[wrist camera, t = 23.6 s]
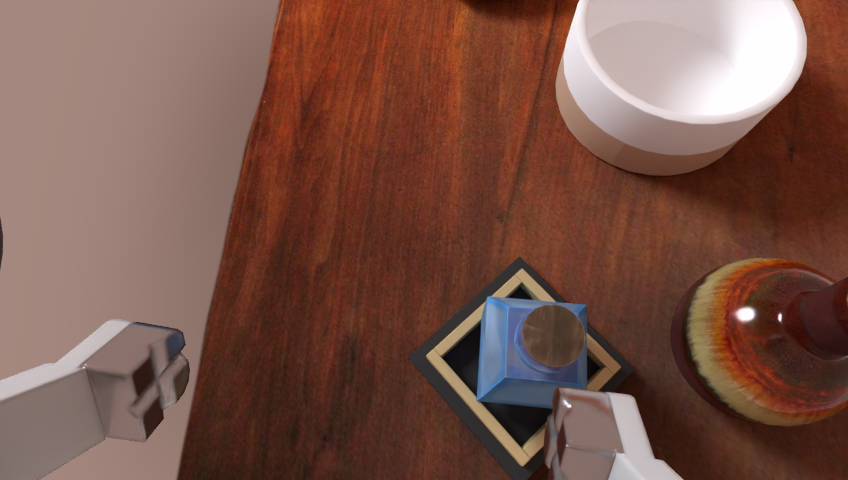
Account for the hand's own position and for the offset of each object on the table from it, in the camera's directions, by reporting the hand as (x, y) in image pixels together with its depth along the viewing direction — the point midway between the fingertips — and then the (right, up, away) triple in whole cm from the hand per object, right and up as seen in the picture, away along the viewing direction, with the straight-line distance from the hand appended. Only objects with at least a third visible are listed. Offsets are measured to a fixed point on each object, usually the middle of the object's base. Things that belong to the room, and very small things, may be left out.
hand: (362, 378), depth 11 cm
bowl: (+22, +16, +36) cm, 45 cm away
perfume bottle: (+8, -6, +26) cm, 28 cm away
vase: (+25, -5, +28) cm, 38 cm away
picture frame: (+9, -7, +28) cm, 30 cm away
